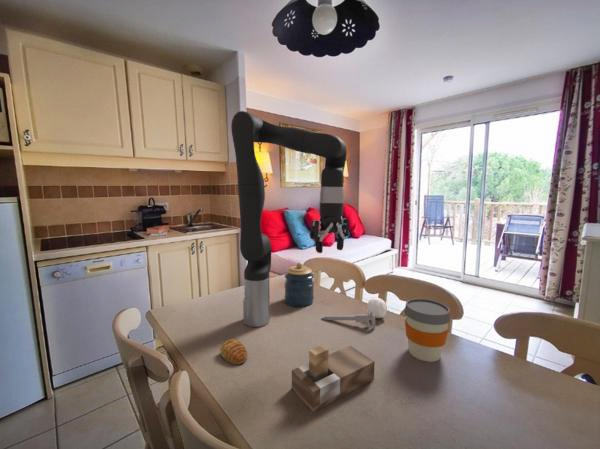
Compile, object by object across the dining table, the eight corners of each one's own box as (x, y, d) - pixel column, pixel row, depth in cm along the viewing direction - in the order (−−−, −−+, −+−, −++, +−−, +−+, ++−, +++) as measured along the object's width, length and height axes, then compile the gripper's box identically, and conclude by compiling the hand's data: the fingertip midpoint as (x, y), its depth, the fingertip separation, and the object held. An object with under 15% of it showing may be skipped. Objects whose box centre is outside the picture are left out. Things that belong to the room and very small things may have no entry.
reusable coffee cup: (402, 360, 82) (405, 311, 80) (402, 338, 94) (404, 296, 92) (450, 369, 78) (454, 318, 76) (444, 346, 90) (447, 301, 88)
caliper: (375, 328, 101) (375, 312, 101) (374, 329, 100) (375, 313, 100) (321, 318, 109) (321, 303, 108) (320, 319, 108) (320, 304, 107)
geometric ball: (375, 320, 113) (379, 301, 116) (389, 322, 106) (393, 301, 109) (360, 313, 110) (365, 294, 114) (374, 314, 103) (378, 293, 107)
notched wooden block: (312, 412, 63) (313, 391, 62) (291, 388, 70) (291, 370, 70) (373, 379, 74) (374, 361, 73) (349, 361, 81) (350, 345, 81)
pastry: (253, 359, 82) (253, 347, 82) (233, 369, 78) (232, 357, 77) (237, 346, 89) (237, 335, 89) (217, 355, 85) (217, 343, 84)
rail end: (314, 393, 67) (315, 354, 66) (308, 387, 69) (309, 349, 68) (327, 387, 69) (328, 349, 68) (321, 381, 71) (322, 344, 70)
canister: (283, 296, 131) (283, 259, 129) (311, 295, 132) (311, 258, 130) (285, 307, 118) (285, 267, 116) (315, 306, 119) (316, 266, 117)
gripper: (340, 200, 96) (338, 246, 98) (306, 200, 88) (305, 251, 90) (356, 201, 90) (353, 251, 92) (321, 202, 82) (319, 256, 84)
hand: (329, 251), depth 91 cm, fingers open, 8 cm apart
